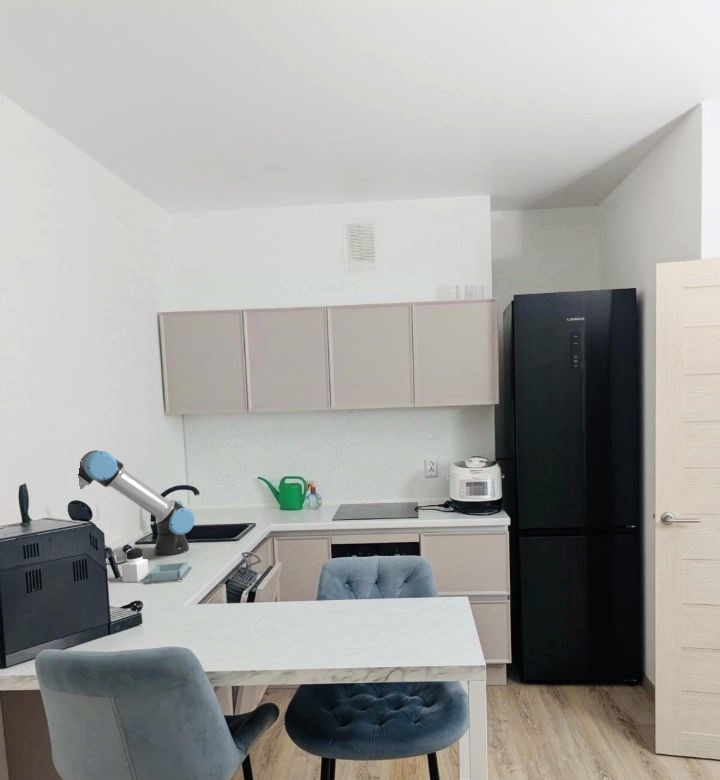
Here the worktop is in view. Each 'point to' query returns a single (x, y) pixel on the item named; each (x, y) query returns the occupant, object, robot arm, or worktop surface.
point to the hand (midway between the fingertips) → (109, 563)
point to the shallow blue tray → (168, 572)
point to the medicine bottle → (134, 566)
